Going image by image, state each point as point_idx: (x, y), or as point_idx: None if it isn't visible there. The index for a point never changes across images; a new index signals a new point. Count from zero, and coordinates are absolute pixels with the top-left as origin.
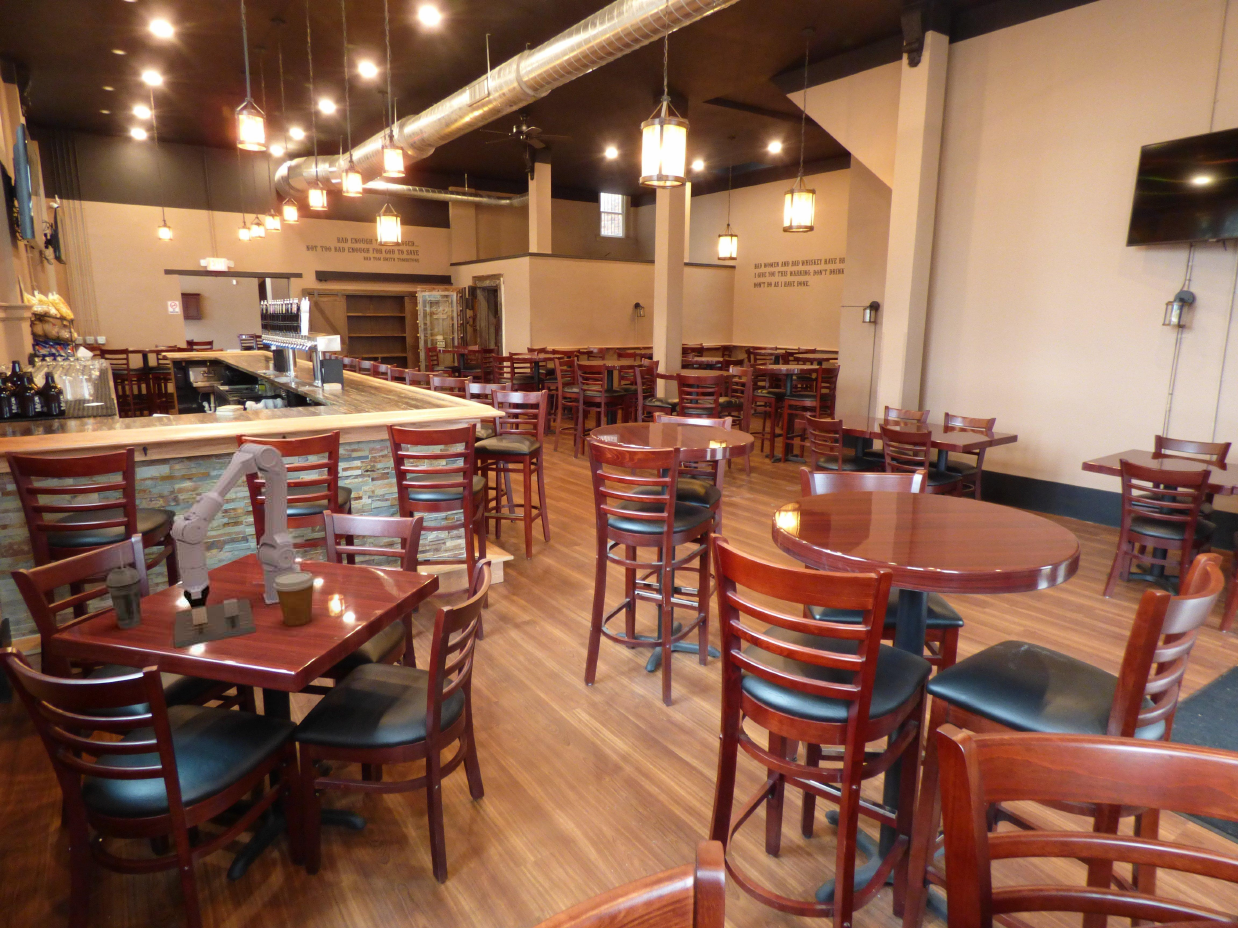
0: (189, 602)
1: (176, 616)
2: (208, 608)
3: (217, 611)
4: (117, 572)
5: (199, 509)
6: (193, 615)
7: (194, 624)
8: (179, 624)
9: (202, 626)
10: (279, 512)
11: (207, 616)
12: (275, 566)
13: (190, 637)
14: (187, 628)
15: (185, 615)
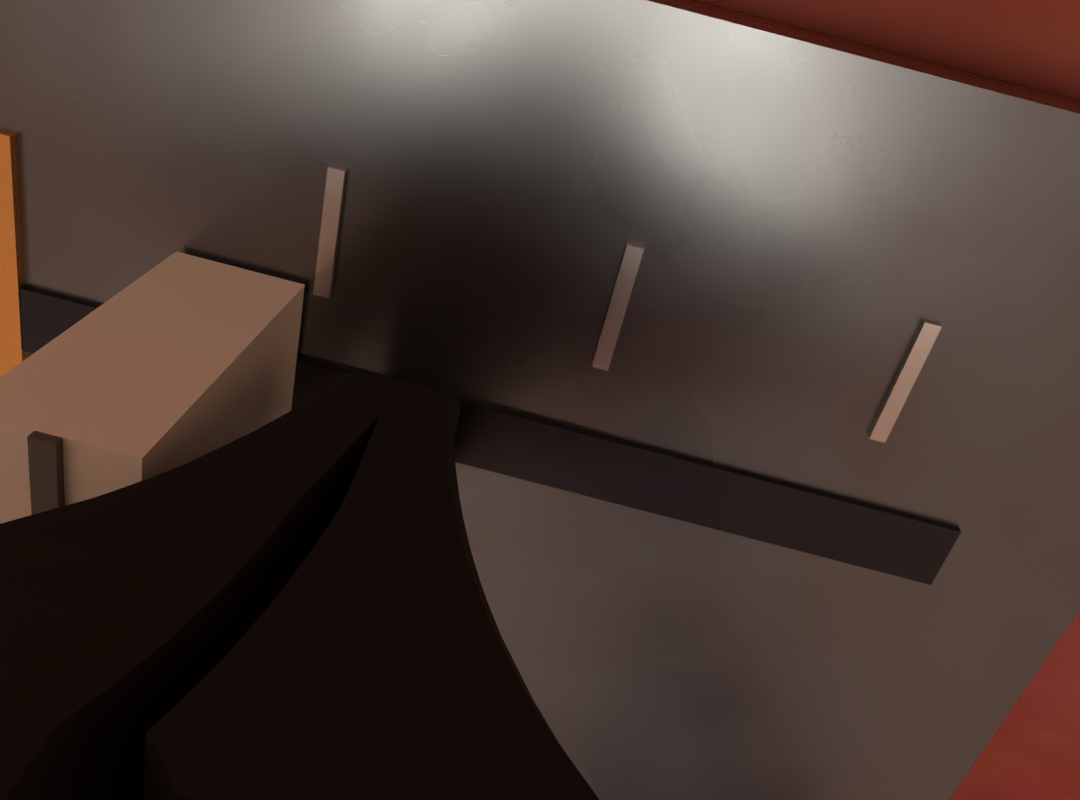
0: (5, 534)
1: (1006, 124)
2: (884, 660)
3: (603, 694)
4: None
5: None
6: (64, 354)
7: (170, 267)
8: (418, 42)
9: (3, 340)
10: None
11: (487, 536)
12: None
13: None
14: (75, 111)
15: (883, 287)
